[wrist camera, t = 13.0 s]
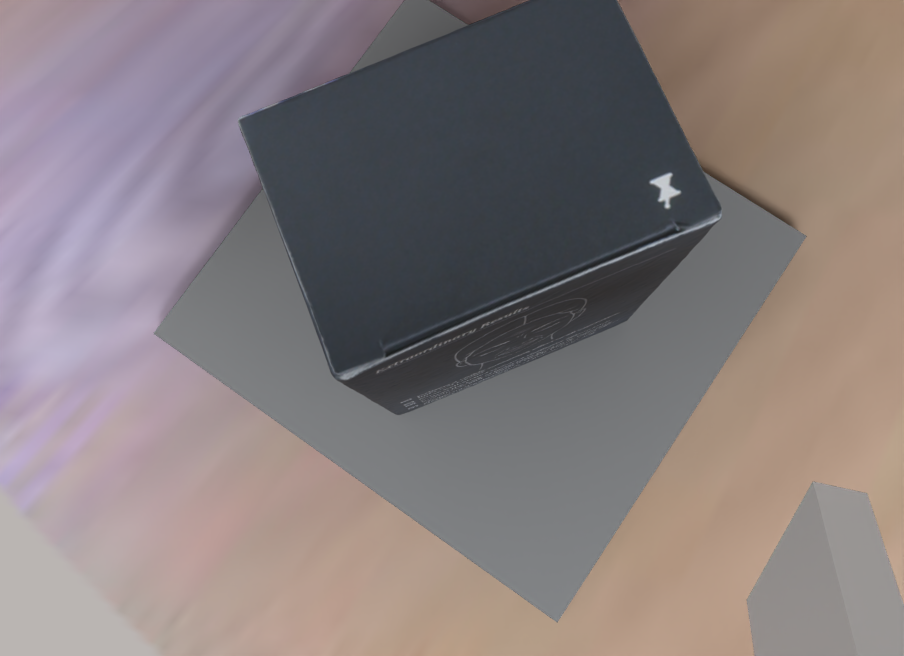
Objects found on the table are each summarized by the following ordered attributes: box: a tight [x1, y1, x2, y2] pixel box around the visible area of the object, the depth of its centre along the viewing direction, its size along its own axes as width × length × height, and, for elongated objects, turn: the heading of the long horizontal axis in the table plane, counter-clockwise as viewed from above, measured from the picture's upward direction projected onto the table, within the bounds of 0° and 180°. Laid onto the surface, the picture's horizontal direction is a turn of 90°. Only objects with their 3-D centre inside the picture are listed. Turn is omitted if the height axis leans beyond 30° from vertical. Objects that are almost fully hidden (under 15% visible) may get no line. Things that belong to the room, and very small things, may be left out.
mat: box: [154, 0, 806, 622], centre depth 26 cm, size 15×14×1 cm
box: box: [238, 0, 722, 415], centre depth 20 cm, size 8×6×11 cm
